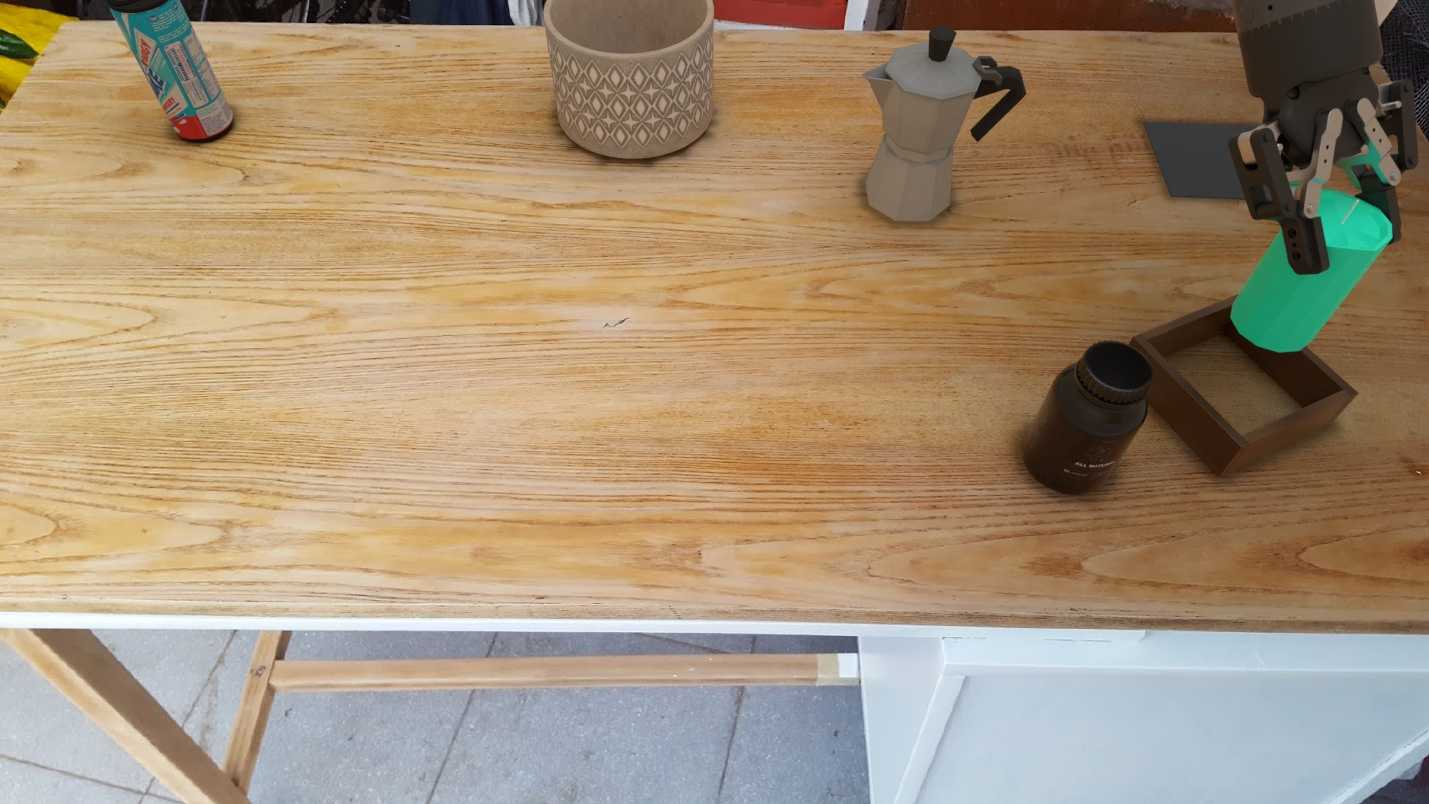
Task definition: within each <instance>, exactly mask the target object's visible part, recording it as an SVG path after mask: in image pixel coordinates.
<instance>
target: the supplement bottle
mask: <svg viewBox="0 0 1429 804" xmlns="http://www.w3.org/2000/svg"><path fill="white" fill-rule="evenodd" d="M1152 375H1153V371H1152V366H1151V365H1150V362H1149V361H1148V360H1147V357H1145V356H1144V355H1143V353H1142V352H1140V351H1138V349H1136V348H1134V347H1132V346H1131V345H1129V344H1127V343H1126V342H1122V341H1119V340H1112V339H1111V340H1102V341H1100V340H1099V341H1097V342H1094V343H1093V344H1091V345H1089V346H1088V347H1087V349H1086V350H1085V351H1084V353H1083V354H1082V357H1081V358H1079V359H1078V361H1076V362H1073V363H1071V364H1069V365H1067V366H1065V367H1064V368H1062V369H1061V370H1060V371H1059V372H1058V373H1057V375H1056V376H1055V378H1054V380H1053V381H1052V383H1051V385H1050V387H1049V389H1048V391H1047V393H1046V394H1045V396H1044V399H1043V401H1042V403H1041V405H1040V406H1039V409H1038V411H1037V413H1036V415H1035V417H1034V419H1033V421H1032V423H1031V425H1030V427H1029V429H1028V432H1027V434H1026V436H1025V438H1024V441H1023V443H1022V452H1021V453H1022V459H1023V462H1024V465H1025V467H1026V468H1027V470H1028V472H1029V473H1030V474H1031V475H1032V477H1033V478H1034V479H1035V480H1036V481H1037V482H1039V483H1040V484H1041V485H1043V486H1045V487H1046V488H1048V489H1050V490H1052V491H1055V492H1056V493H1057V492H1058V493H1061V494H1065V495H1071V496H1072V495H1073V496H1080V495H1087V494H1090V493H1093V492H1095V491H1097V490H1098V489H1100V488H1101V487H1102V486H1103V485H1104V483H1105V482H1106V481H1107V480H1108V478H1109V477H1110V476H1111V474H1112V472H1113V471H1114V469H1115V468H1116V467H1117V465H1118V463H1119V462H1120V460H1121V459H1122V457H1123V456H1124V454H1125V452H1126V451H1127V450H1128V449H1129V447H1130V445H1131V443H1132V442H1133V440H1134V439H1135V437H1136V436H1137V434H1138V433H1139V431H1140V430H1141V428H1142V427H1143V425H1144V423H1145V421H1146V419H1147V416H1148V412H1149V404H1148V401H1147V397H1146V394H1145V393H1146V391H1147V389H1148V387H1149V385H1150V384H1151V381H1152V379H1153V376H1152Z"/></svg>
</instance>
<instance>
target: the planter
mask: <svg viewBox="0 0 1429 804" xmlns="http://www.w3.org/2000/svg"><path fill="white" fill-rule="evenodd" d="M542 16H543V24H544V31H545V37H546V44H547V51H548V57H549V58H548V59H549V65H550V72H551V78H552V86H553V92H554V99H555V106H556V112H557V119H558V123H559V125H560V127H561V129H562V131H563V132H564V133H565V135H566V136H567V137H568V138H569V139H570V140H571V141H573V142H574V143H575V144H577V145H578V146H580V147H581V148H582V149H585V150H587V151H590V152H592V153H595V154H598V155H601V156H604V157H605V156H606V157H611V158H617V159H627V160H628V159H632V160H633V159H634V160H639V159H649V158H656V157H660V156H661V157H662V156H665V155H668V154H671V153H674V152H677V151H679V150H681V149H683V148H686V147H687V146H688V145H690V144H692V143H694V142H695V141H696V140H698V138H700V137H701V136H702V135H703V134H704V133H705V132H706V130H707V129H708V127H709V126H710V124H711V121H712V119H713V115H714V71H715V70H714V68H715V67H714V66H715V64H714V63H715V61H714V60H715V59H714V56H715V55H714V54H715V51H714V50H715V41H714V40H715V6H714V2H713V0H546V1H545V3H544V6H543V12H542Z"/></svg>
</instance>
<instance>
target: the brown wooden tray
mask: <svg viewBox="0 0 1429 804" xmlns="http://www.w3.org/2000/svg"><path fill="white" fill-rule="evenodd" d="M1238 295H1239V293H1238V294H1235V295H1233V296H1230V297H1228V298H1225V299H1223V300H1220V301H1217V302H1215V303H1213V304H1210V305H1208V306H1206V307H1203V308H1200V309H1198V310H1196V311H1193V312H1191V313H1188V314H1185V315H1183V316H1181V317H1178V318H1176V319H1173V320H1171V321H1168V322H1166V323H1163V324H1161V325H1157V326H1156V327H1154V328H1151V329H1149V330H1146V331H1143V332H1141V333H1138V334H1136V335H1133V336H1132V337H1131V339H1130V341H1129V343H1128V345H1131V346H1132V347H1134V348H1136V349H1138V351H1140V352H1142V353H1143V355H1144V356H1145V357H1147V360H1148V361H1149V362H1150V365H1151V366H1152V371H1153V375H1152V376H1153V379H1152V381H1151V384H1150V385H1149V387H1148V389H1147V391H1146V393H1145V394H1146V397H1147V401H1148V406H1150V407H1151V408H1152V409H1153V410H1154V411H1155V412H1156V413H1157V414H1158V415H1159V417H1160V418H1161V419H1162V420H1163V421H1164V422H1165V423H1166V424H1167V425H1168V426H1169V427H1170V428H1171V429H1172V430H1173V432H1174V433H1176V435H1177V436H1178V437H1179V438H1180V439H1181V440H1182V441H1183V442H1184V443H1185V444H1186V446H1188V447H1189V448H1190V450H1191V451H1192V452H1193V453H1194V454H1195V455H1196V456H1197V457H1198V458H1199V459H1200V460H1201V462H1202V463H1204V465H1206V467H1207V468H1208V469H1209V470H1210V471H1211V472H1212V473H1213V474H1214V475H1215V476H1216V477H1217V478H1220V477H1222V476H1224V475H1226V474H1228V473H1230V472H1233V471H1234V470H1236V469H1238V468H1241V467H1243V466H1245V465H1248V464H1250V463H1252V462H1254V461H1256V460H1258V459H1260V458H1262V457H1265V456H1266V455H1269V454H1271V453H1273V452H1275V451H1277V450H1279V449H1281V448H1283V447H1286V446H1288V445H1291V444H1292V443H1294V442H1296V441H1299V440H1300V439H1302V438H1305V437H1307V436H1309V435H1311V434H1313V433H1315V432H1318V431H1320V430H1322V429H1324V428H1326V427H1329V426H1331V425H1332V424H1333V423H1334V421H1335V420H1337V418H1338V417H1339V416H1340V415H1341V414H1342V413H1343V412H1344V411H1345V410H1346V408H1347V407H1348V406H1349V405H1350V404H1351V403H1352V401H1354V399H1355V398H1356V397H1358V395H1359V392H1358V391H1357V390H1356V389H1355V388H1354V387H1353V386H1352V385H1350V384H1349V383H1348V382H1347V381H1346V380H1345V379H1344V378H1343V377H1342V376H1341V375H1339V374H1338V373H1337V372H1336V371H1335V370H1334V369H1333V368H1331V367H1330V366H1329V365H1328V364H1327V363H1326V362H1325V361H1324V360H1322V359H1321V358H1320V357H1319V356H1318V355H1317V354H1316V353H1314V352H1313V350H1311V349H1310V348H1309V347H1308V345H1306V346H1305V347H1304V348H1302V349H1301V350H1300V351H1292V352H1276V351H1272V350H1269V349H1266V348H1262V347H1259V346H1256V345H1255V344H1254V343H1252V342H1251V341H1249V340H1248V339H1247V338H1245V337H1244V336H1243V335H1241V334H1240V333H1239V332H1238V330H1237V329H1236V327H1235V325H1234V323H1233V322H1232V320H1231V318H1230V317H1231V311H1232V305H1233V303H1234V301H1235V300H1236V298H1237V296H1238ZM1221 334H1224V335H1225V336H1227V338H1228V339H1230V340H1231V342H1233V343H1234V344H1235V345H1236V346H1237V347H1238V348H1239V349H1240V350H1241V351H1242V352H1243V353H1244V354H1245V355H1247V357H1249V359H1251V361H1253V362H1254V363H1255V364H1256V365H1257V366H1258V367H1259V368H1260V369H1261V370H1262V371H1264V372H1265V374H1267V375H1268V377H1270V378H1271V379H1272V380H1273V381H1274V382H1275V383H1276V384H1277V385H1278V386H1279V387H1280V388H1281V389H1282V390H1283V391H1285V392H1286V393H1287V394H1288V395H1289V396H1290V397H1291V398H1292V399H1293V400H1294V401H1296V403H1297V404H1298V405H1299V406H1300V407H1302V408H1300V409H1298V410H1296V411H1293V412H1292V413H1289V414H1287V415H1285V416H1283V417H1281V418H1279V419H1276V420H1274V421H1271V422H1270V423H1267V424H1265V425H1263V426H1261V427H1259V428H1257V429H1254V430H1252V431H1250V432H1248V433H1246V434H1243V435H1241V434H1240V433H1239V432H1238V431H1237V430H1236V429H1235V428H1234V426H1232V425H1231V424H1230V422H1228V420H1226V419H1225V417H1223V416H1222V414H1220V413H1219V412H1218V410H1217V409H1215V408H1214V406H1212V405H1211V404H1210V402H1209V401H1208V400H1207V399H1206V398H1205V397H1203V396H1202V394H1201V393H1200V392H1198V390H1197V389H1195V387H1194V386H1193V385H1192V384H1191V383H1190V382H1189V381H1188V380H1187V379H1186V378H1185V377H1184V375H1182V374H1181V373H1180V372H1179V371H1178V370H1177V369H1176V368H1175V367H1174V366H1173V365H1172V364H1171V363H1170V361H1168V360H1167V359H1166V357H1168V356H1170V355H1172V354H1173V355H1174V354H1175V353H1178V352H1180V351H1183V350H1185V349H1187V348H1189V347H1192V346H1194V345H1197V344H1199V343H1202V342H1204V341H1206V340H1209V339H1211V338H1214V337H1217V336H1219V335H1221Z"/></svg>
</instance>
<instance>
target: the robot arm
mask: <svg viewBox="0 0 1429 804" xmlns="http://www.w3.org/2000/svg"><path fill="white" fill-rule="evenodd" d="M1230 2H1231V3H1230V4H1231V8H1232V12H1233V18H1234V24H1235V28H1236V33H1237V39H1238V43H1239V48H1240V53H1241V58H1242V59H1241V60H1242V64H1243V68H1244V74H1245V79H1246V85H1247V89H1248V93H1249V94H1250V95H1251V96H1252V97H1253V98H1260V100H1261V101H1262V102H1263V117H1262V121H1261V124H1260V125H1259V126H1257V128H1255V129H1254V130H1252V131H1249V132H1244V133H1240V134H1235V135H1232V136H1231V137H1230V139H1229V141H1228V147H1229V150H1230V153H1231V156H1232V159H1233V163H1234V166H1235V169H1236V172H1237V175H1238V178H1239V181H1240V184H1241V187H1242V190H1243V193H1244V196H1245V199H1246V200H1245V202H1246V205H1247V208H1248V212H1249V214H1250V217H1251V219H1252V220H1254V221H1262V220H1265V221H1274V222H1276V223H1278V224H1279V226H1280V230H1281V229H1282V233H1283V238H1284V244H1285V248H1286V253H1287V259H1288V263H1289V265H1290V266H1291V268H1292V269H1293V271H1294V272H1295V273H1296V274H1298V275H1310V274H1319V273H1322V272H1324V271H1326V270H1328V269H1329V267H1330V262H1329V257H1328V252H1327V247H1326V241H1325V236H1324V231H1323V225H1322V220H1321V216H1318V217H1315V216H1316V215H1317V213H1318V208H1319V202H1320V196H1321V189H1323V185H1324V184H1326V183H1327V182H1328V181H1329V180H1330V178H1331V176H1332V170H1333V169H1332V168H1333V166H1334V167H1336V168H1338V169H1341V170H1343V171H1344V172H1345V173H1346V175H1347V177H1348V179H1349V181H1351V183H1352V184H1353V186H1354V188H1355V189H1356V190H1357V191H1360V192H1359V193H1356V194H1354V197H1356V198H1359V199H1361V200H1363V201H1365V202H1367V203H1369V204H1371V205H1373V206H1375V207H1377V208H1378V209H1380V210H1381V211H1382V213H1383V214H1384V215H1385V216H1386V218H1387V219H1388V220H1389V221H1390V222H1391V224H1392V239H1391V240H1390V241H1389V243H1388V244H1387V245H1386V246H1389V245H1393V244H1395V243H1397V242H1400V240H1401V239H1402V231H1401V230H1402V219H1401V214H1400V209H1399V202H1398V201H1399V200H1398V197H1397V190H1396V186H1397V185H1399V184H1400V182H1401V179H1402V175H1403V174H1404V173H1406V171H1409V170H1410V171H1411V170H1414V169H1416V168H1417V166H1418V165H1419V147H1418V133H1417V117H1416V116H1417V115H1416V101H1415V88H1414V83H1413V81H1412V80H1411V79H1410V78H1403V79H1400V80H1399V79H1398V80H1394V81H1388V82H1385V83H1381V84H1379V85H1378V84H1377V82H1376V81H1374V79H1373V77H1372V75H1371V72H1370V71H1371V70H1370V67H1371V66H1372V65H1375V64H1376V63H1378V62H1379V61H1381V60H1382V57H1383V56H1384V48H1383V43H1382V37H1381V31H1380V27H1379V24H1378V18H1377V13H1376V7H1375V1H1374V0H1230ZM1391 136H1395V137H1396V143H1397V144H1396V145H1397V153H1393V154H1390V151H1391V150H1392V148H1393V144H1392V141H1390V137H1391ZM1367 165H1370V167H1367ZM1294 166H1295V167H1296V168H1298V170H1294ZM1263 185H1266V186H1267V187H1268V188H1269V191H1270V194H1271V198H1272V200H1267V198H1266V195H1265V192H1264V188H1263ZM1299 187H1300V193H1299V199H1295V195H1296V194H1295V193H1296V190H1297V188H1299Z"/></svg>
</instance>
